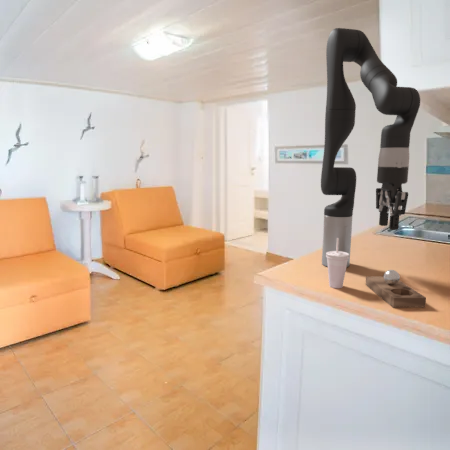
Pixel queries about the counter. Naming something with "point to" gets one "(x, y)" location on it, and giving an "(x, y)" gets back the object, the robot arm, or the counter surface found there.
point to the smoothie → (336, 266)
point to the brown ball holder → (395, 293)
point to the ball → (391, 277)
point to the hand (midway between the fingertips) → (388, 227)
